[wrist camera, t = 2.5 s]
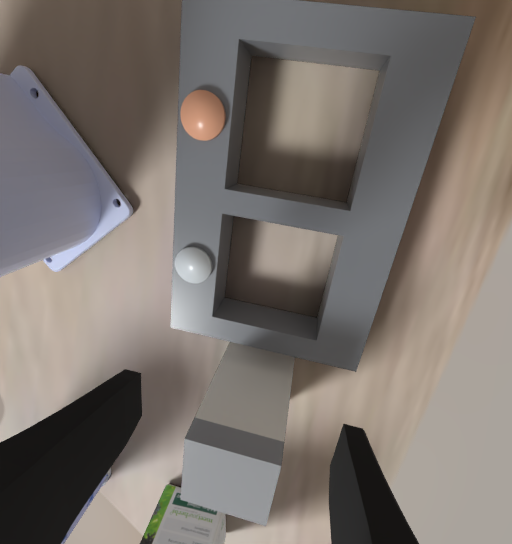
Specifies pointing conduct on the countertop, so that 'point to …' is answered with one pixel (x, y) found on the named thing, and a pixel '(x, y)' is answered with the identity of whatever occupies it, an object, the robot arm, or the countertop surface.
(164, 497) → the syrup box
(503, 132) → the countertop surface
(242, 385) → the plug
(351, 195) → the socket board
